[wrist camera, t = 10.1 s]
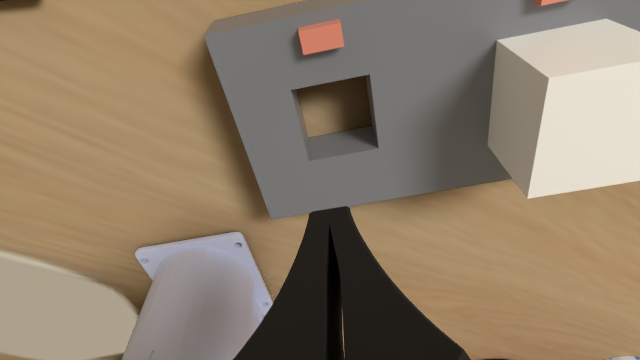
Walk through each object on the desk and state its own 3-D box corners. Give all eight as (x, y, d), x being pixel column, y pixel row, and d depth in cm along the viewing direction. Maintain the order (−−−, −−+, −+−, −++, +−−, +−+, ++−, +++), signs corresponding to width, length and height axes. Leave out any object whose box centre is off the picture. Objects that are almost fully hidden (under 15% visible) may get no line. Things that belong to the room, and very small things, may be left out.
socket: (591, 137, 23) (625, 166, 21) (273, 193, 25) (270, 226, 22) (649, -75, 17) (709, -71, 14) (214, 20, 18) (200, 39, 16)
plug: (554, 130, 22) (631, 201, 17) (472, 144, 23) (523, 218, 17) (579, 8, 18) (690, 51, 13) (480, 27, 19) (549, 78, 13)
